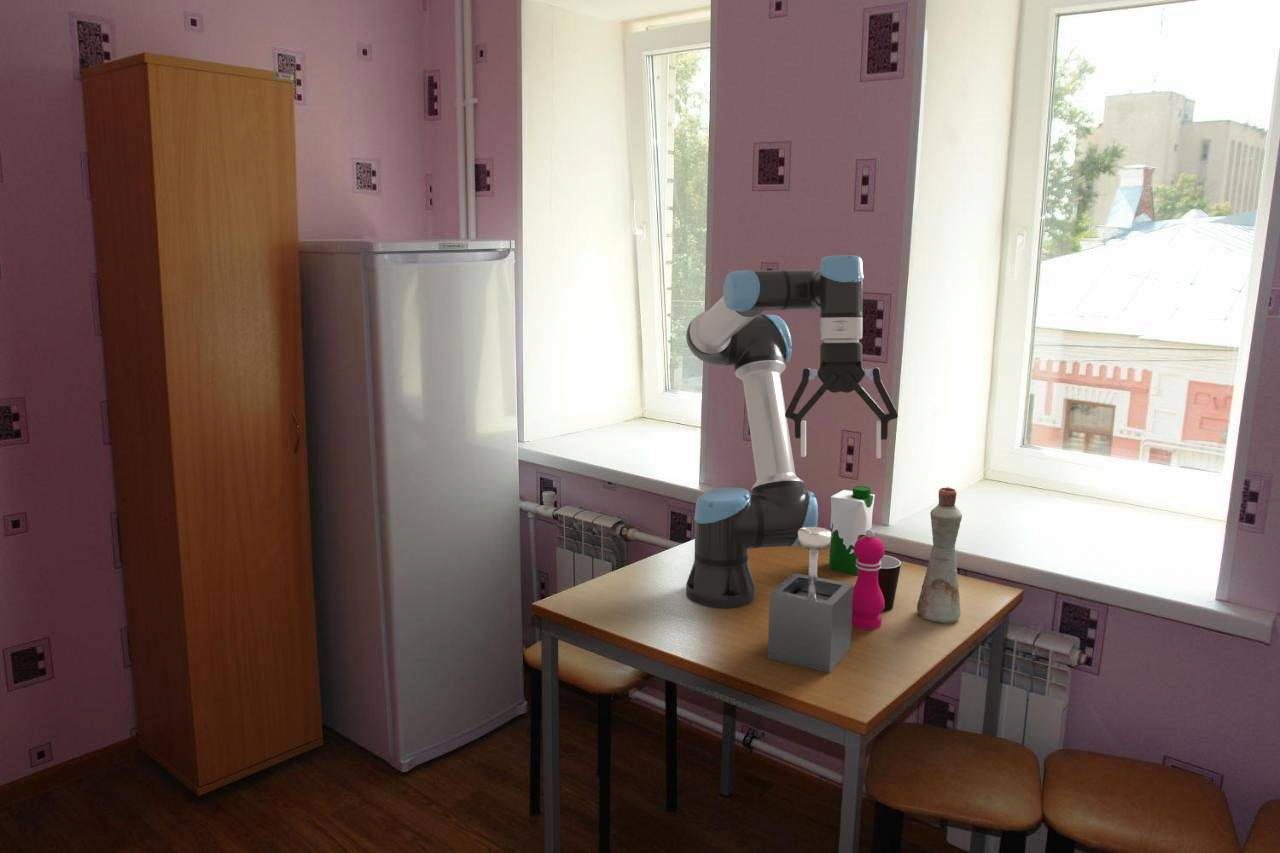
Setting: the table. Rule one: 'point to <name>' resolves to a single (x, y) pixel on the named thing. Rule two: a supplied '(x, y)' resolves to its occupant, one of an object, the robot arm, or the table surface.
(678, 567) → the table surface
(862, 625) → the pepper mill
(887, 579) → the coffee mug
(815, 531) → the plunger
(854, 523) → the milk carton
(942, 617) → the bottle
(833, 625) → the tower
